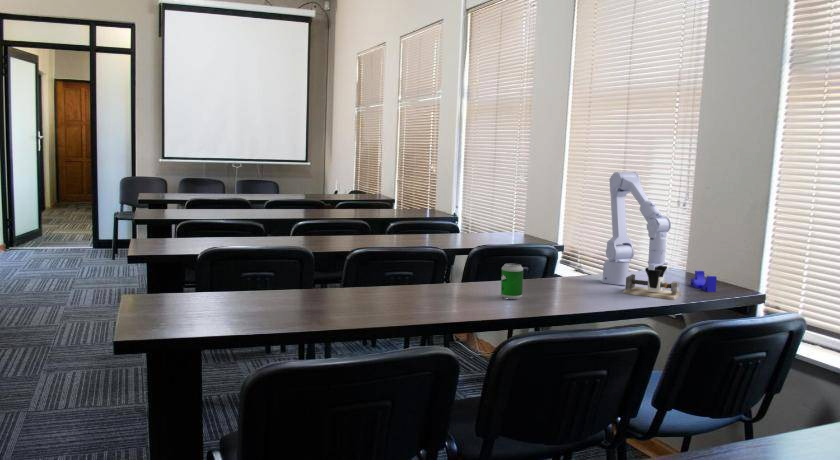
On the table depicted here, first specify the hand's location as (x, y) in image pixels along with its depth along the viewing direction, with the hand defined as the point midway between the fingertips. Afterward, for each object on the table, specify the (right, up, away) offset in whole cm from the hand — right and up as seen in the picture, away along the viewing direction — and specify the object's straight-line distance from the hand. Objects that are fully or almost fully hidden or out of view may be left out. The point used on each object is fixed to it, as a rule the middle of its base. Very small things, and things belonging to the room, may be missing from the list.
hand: (655, 286), depth 240 cm
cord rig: (-1, -3, +1) cm, 3 cm away
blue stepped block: (+22, -2, +12) cm, 25 cm away
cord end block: (0, -2, 0) cm, 2 cm away
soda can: (-54, -4, -8) cm, 55 cm away
